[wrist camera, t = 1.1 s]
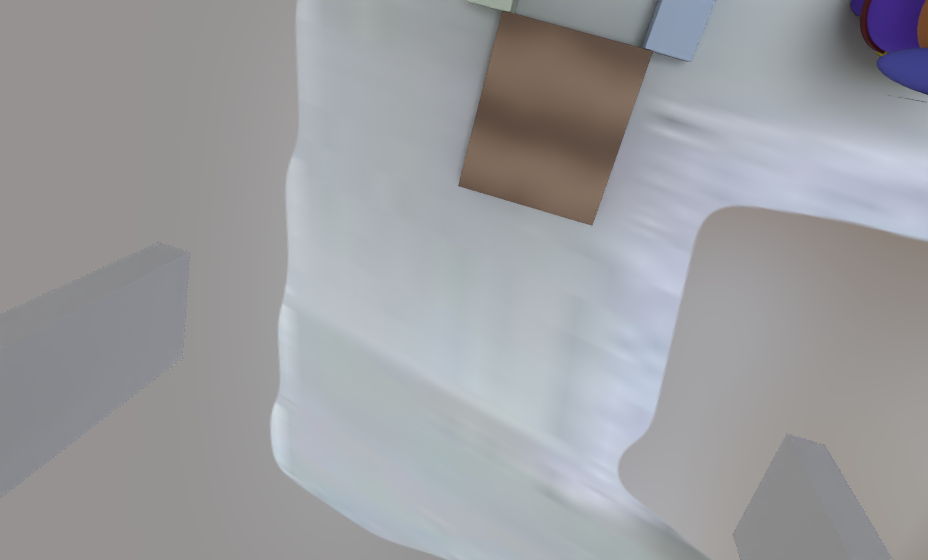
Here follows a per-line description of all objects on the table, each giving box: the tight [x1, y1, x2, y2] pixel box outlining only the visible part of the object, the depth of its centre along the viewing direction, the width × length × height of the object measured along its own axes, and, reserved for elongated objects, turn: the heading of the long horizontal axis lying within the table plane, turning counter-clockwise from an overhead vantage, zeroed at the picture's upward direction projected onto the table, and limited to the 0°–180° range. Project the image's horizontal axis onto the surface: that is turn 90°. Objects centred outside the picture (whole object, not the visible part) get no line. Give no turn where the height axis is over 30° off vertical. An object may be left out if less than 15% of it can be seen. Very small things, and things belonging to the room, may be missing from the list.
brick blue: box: [642, 0, 716, 62], centre depth 39 cm, size 6×3×3 cm, turn 164°
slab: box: [458, 11, 653, 225], centre depth 43 cm, size 12×10×2 cm
